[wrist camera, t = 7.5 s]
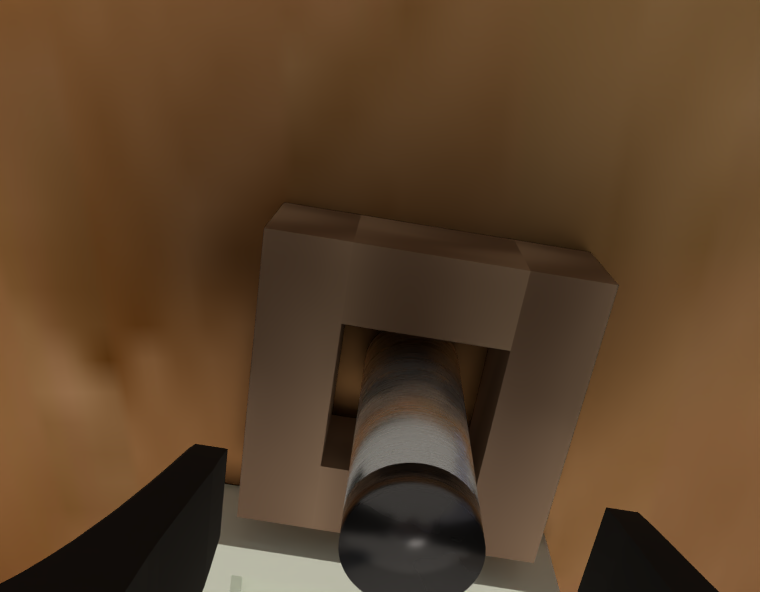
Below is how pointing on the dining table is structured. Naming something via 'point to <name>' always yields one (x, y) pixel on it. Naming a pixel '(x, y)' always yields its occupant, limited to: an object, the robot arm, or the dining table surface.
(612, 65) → the dining table surface
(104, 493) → the dining table surface
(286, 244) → the socket block
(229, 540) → the tray
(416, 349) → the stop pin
